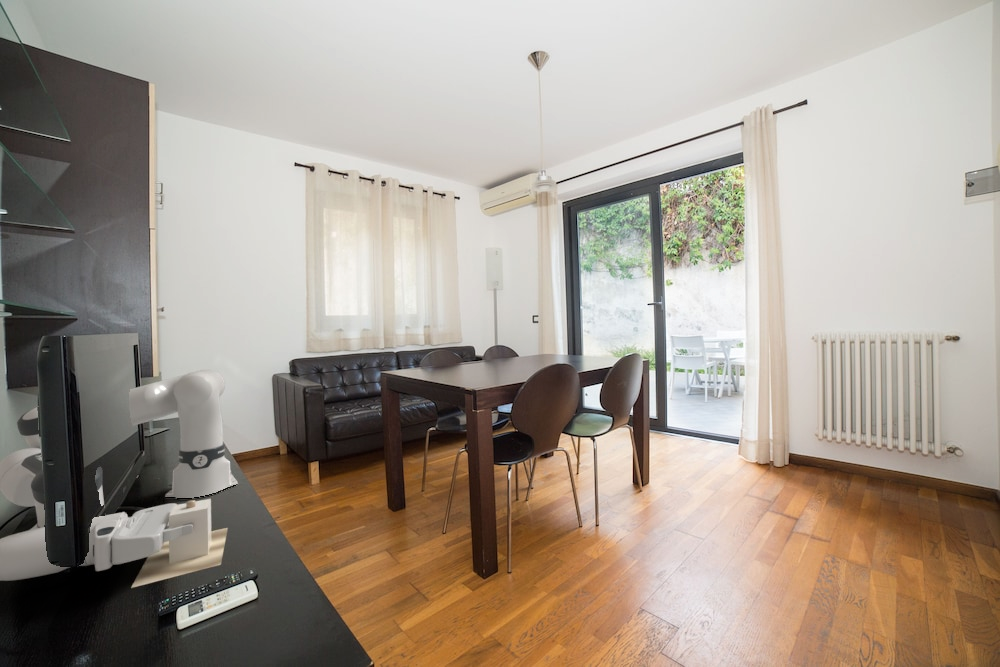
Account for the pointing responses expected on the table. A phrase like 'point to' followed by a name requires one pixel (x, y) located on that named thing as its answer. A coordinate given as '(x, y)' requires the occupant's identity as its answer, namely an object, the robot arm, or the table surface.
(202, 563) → the mat
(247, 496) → the table surface
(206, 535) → the tall white canister
